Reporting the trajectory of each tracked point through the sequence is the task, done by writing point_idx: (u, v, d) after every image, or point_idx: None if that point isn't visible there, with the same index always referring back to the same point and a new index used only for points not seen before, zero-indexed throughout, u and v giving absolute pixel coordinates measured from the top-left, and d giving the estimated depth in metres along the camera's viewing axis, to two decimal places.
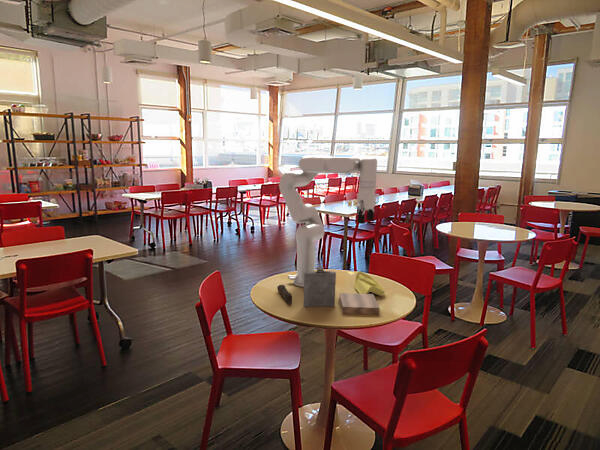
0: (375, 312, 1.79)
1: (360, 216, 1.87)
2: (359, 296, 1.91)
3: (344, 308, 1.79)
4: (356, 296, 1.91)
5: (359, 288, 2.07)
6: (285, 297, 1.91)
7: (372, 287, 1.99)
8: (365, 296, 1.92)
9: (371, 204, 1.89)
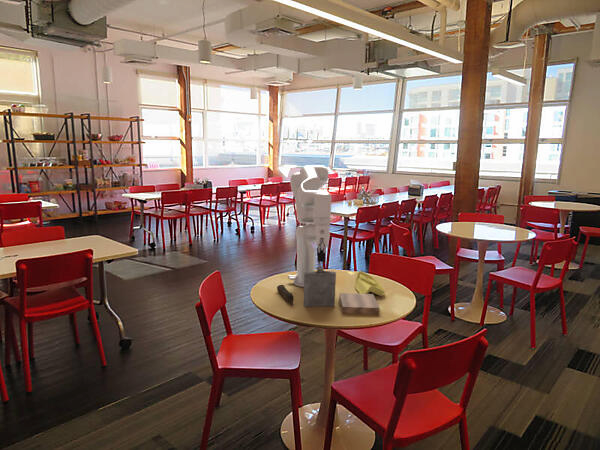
0: (375, 312, 1.79)
1: None
2: (359, 296, 1.91)
3: (344, 308, 1.79)
4: (356, 296, 1.91)
5: (359, 288, 2.07)
6: (286, 297, 1.91)
7: (372, 287, 1.99)
8: (365, 296, 1.92)
9: None
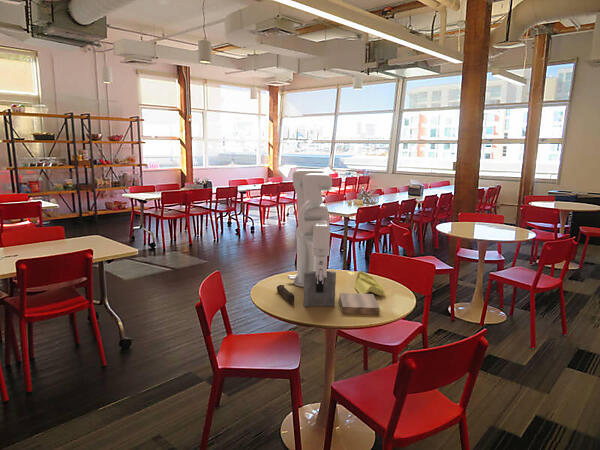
0: (375, 312, 1.79)
1: None
2: (359, 296, 1.91)
3: (344, 308, 1.79)
4: (356, 296, 1.91)
5: (359, 288, 2.08)
6: (287, 297, 1.91)
7: (371, 287, 1.99)
8: (365, 296, 1.92)
9: None
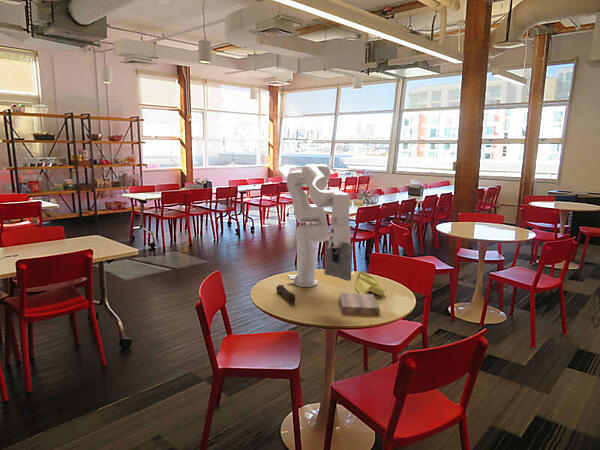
0: (375, 312, 1.79)
1: None
2: (359, 296, 1.91)
3: (344, 308, 1.79)
4: (356, 296, 1.91)
5: (359, 287, 2.08)
6: (287, 297, 1.91)
7: (371, 287, 1.99)
8: (365, 296, 1.92)
9: None
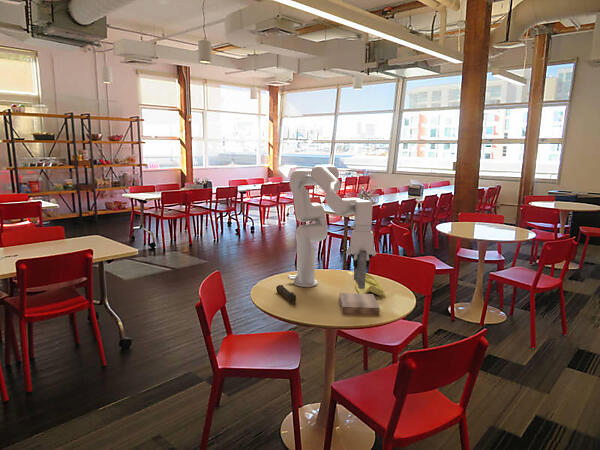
0: (375, 312, 1.79)
1: None
2: (359, 296, 1.91)
3: (344, 308, 1.79)
4: (356, 296, 1.91)
5: None
6: (288, 297, 1.91)
7: (371, 287, 1.99)
8: (365, 296, 1.92)
9: None
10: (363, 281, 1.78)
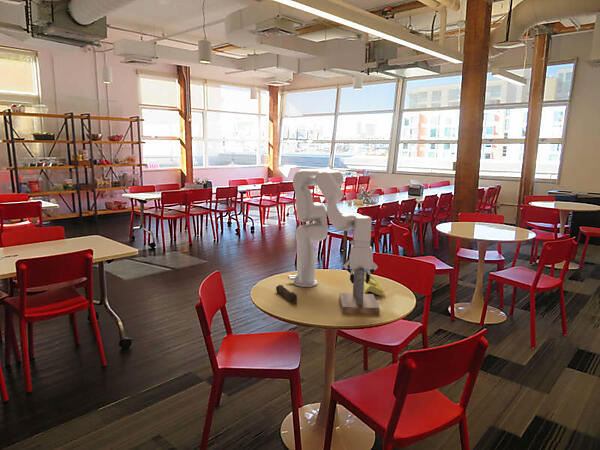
0: (375, 312, 1.79)
1: None
2: None
3: (344, 308, 1.79)
4: None
5: None
6: (288, 297, 1.91)
7: (371, 286, 1.99)
8: (365, 296, 1.92)
9: None
10: (361, 298, 1.80)
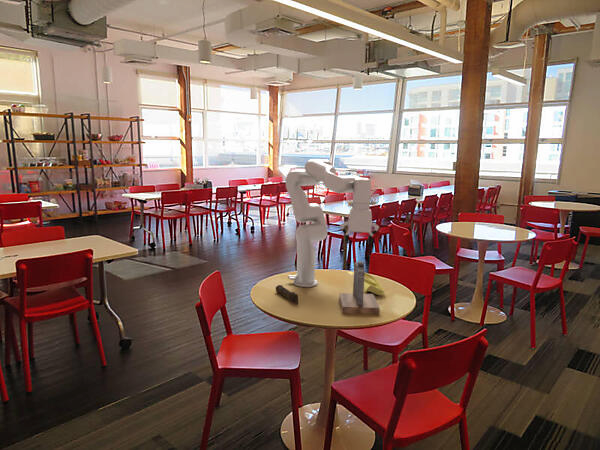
0: (375, 312, 1.79)
1: None
2: None
3: (344, 308, 1.79)
4: None
5: None
6: (289, 297, 1.91)
7: (370, 286, 1.99)
8: (365, 296, 1.92)
9: None
10: (361, 298, 1.80)
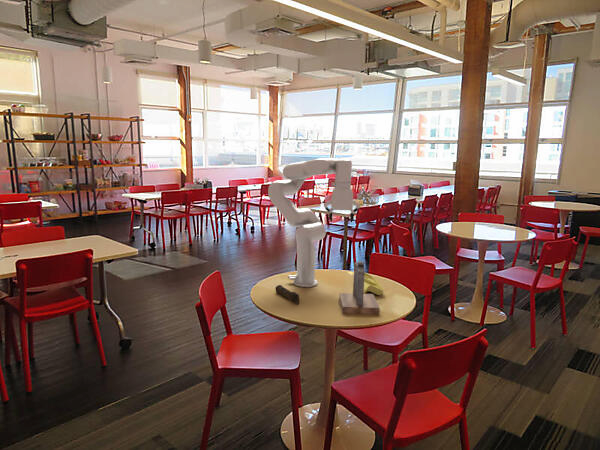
0: (375, 312, 1.79)
1: (353, 215, 1.96)
2: None
3: (344, 308, 1.79)
4: None
5: None
6: (290, 297, 1.91)
7: (370, 286, 2.00)
8: (365, 296, 1.92)
9: None
10: (361, 298, 1.80)
